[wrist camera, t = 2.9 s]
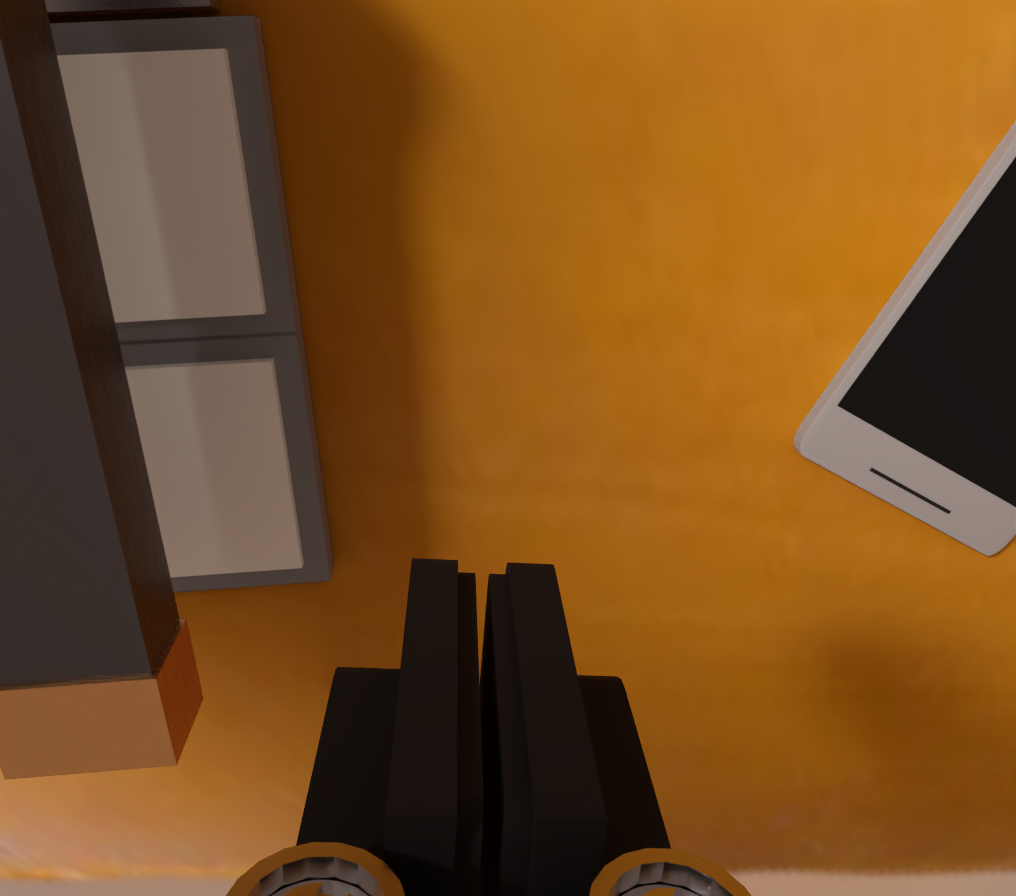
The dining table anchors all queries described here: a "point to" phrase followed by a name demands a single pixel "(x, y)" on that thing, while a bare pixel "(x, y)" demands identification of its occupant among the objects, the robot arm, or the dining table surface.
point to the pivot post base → (125, 6)
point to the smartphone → (938, 377)
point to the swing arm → (72, 467)
